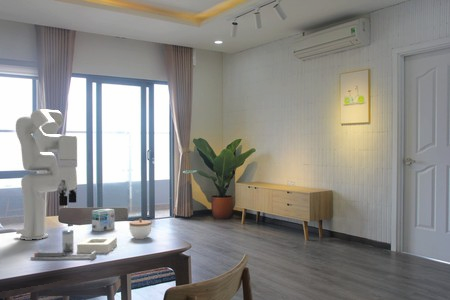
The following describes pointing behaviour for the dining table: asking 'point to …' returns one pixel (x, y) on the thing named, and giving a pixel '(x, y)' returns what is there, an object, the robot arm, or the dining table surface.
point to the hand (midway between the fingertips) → (68, 204)
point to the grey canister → (67, 241)
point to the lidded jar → (140, 228)
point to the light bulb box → (103, 219)
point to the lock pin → (49, 254)
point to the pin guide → (69, 257)
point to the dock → (96, 245)
